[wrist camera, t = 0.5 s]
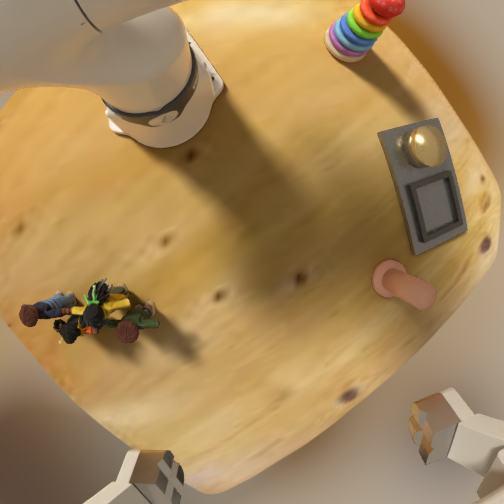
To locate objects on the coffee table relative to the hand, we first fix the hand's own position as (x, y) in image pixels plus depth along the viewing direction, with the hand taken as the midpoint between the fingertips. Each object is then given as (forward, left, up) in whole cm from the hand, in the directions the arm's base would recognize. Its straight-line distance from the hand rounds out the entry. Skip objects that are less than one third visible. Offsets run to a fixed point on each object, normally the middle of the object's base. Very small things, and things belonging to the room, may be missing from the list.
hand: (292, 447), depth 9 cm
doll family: (-1, -25, -40) cm, 47 cm away
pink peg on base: (+13, +22, -40) cm, 48 cm away
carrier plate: (0, +35, -40) cm, 53 cm away
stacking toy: (-28, +29, -40) cm, 57 cm away
